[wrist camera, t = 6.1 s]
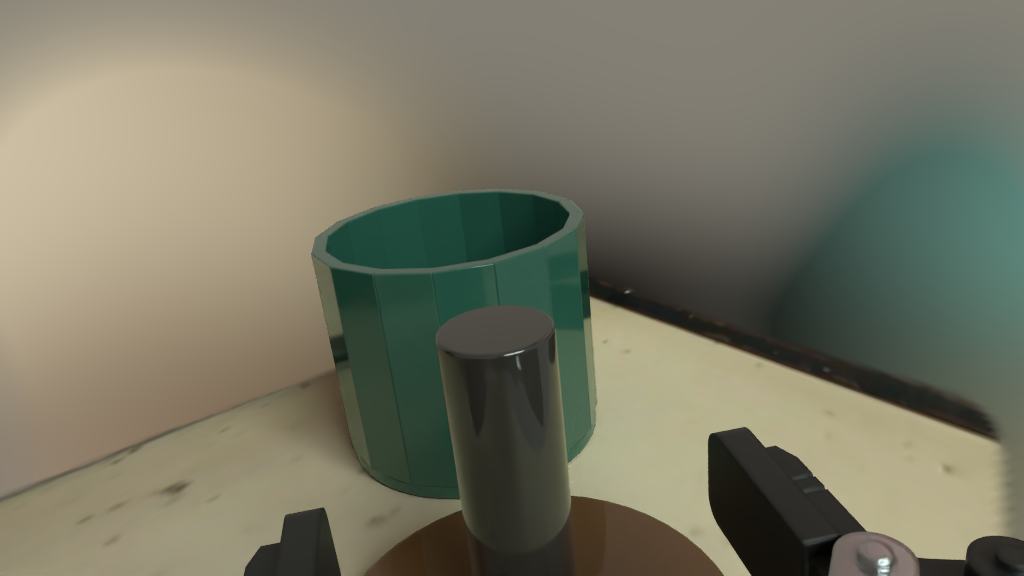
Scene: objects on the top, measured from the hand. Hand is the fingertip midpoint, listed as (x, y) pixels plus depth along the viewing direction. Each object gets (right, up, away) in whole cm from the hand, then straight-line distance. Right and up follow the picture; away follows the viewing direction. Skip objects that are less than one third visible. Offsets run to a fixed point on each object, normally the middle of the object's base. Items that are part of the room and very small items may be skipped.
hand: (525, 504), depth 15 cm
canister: (-2, -1, +15) cm, 16 cm away
